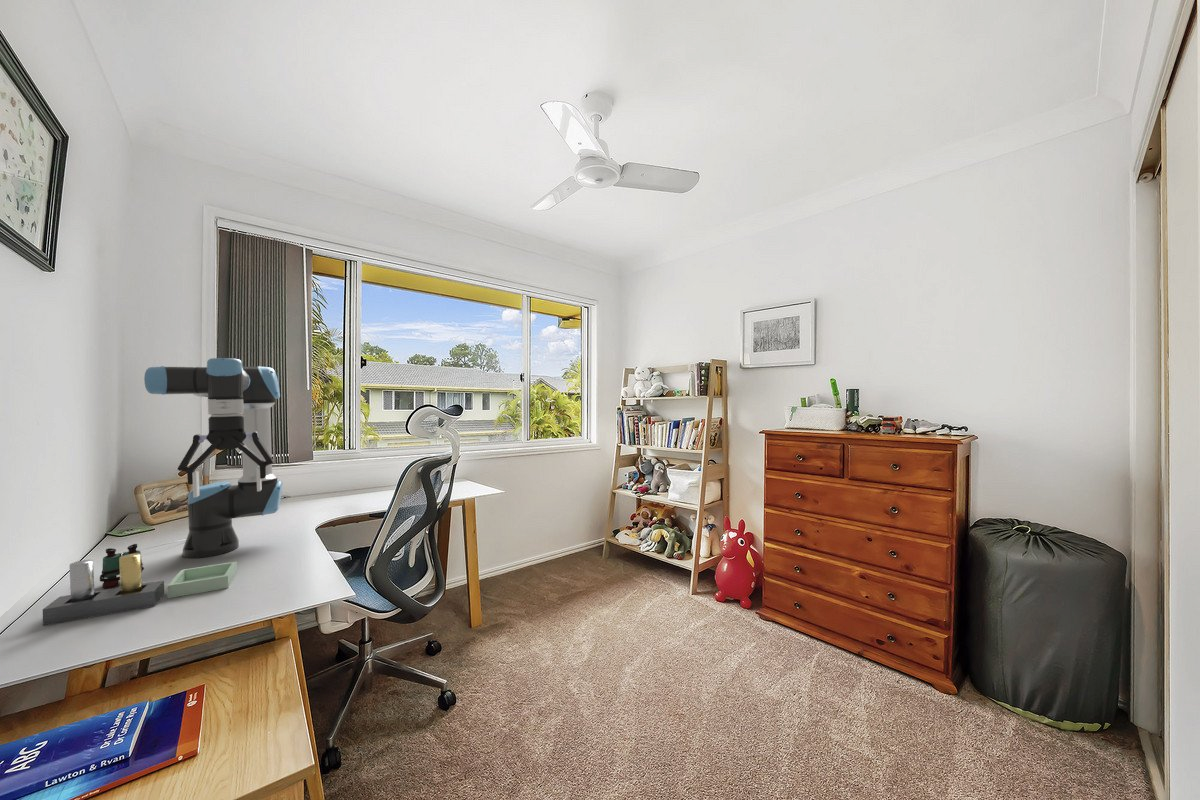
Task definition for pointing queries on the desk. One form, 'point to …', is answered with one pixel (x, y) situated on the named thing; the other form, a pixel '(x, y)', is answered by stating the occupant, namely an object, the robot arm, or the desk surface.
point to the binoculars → (114, 567)
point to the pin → (82, 580)
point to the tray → (202, 579)
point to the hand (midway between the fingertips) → (228, 493)
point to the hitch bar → (103, 603)
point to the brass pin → (130, 573)
